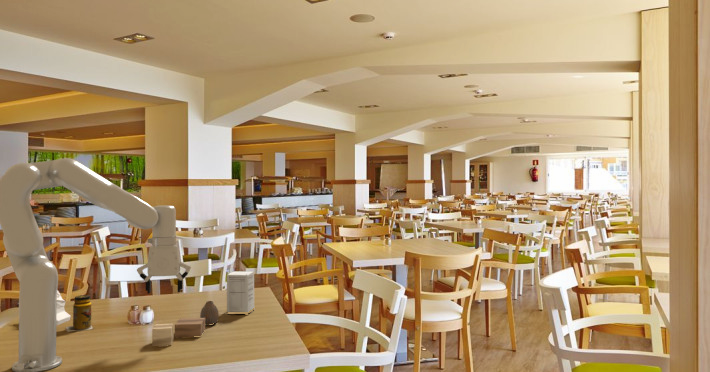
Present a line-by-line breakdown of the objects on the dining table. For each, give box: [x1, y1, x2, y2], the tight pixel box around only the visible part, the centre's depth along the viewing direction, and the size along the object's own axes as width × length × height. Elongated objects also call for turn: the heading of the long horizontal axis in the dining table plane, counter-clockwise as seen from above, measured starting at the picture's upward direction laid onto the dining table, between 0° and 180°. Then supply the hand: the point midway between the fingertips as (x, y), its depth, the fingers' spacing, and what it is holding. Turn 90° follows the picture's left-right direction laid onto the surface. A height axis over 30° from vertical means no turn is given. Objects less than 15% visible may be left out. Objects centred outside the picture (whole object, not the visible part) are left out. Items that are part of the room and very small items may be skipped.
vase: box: [199, 300, 220, 324], centre depth 202 cm, size 7×7×9 cm
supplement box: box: [226, 270, 255, 313], centre depth 221 cm, size 10×9×17 cm
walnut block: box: [174, 317, 206, 339], centre depth 188 cm, size 9×9×5 cm
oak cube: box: [151, 323, 175, 347], centre depth 177 cm, size 6×6×6 cm
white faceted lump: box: [56, 289, 72, 326], centre depth 204 cm, size 12×15×14 cm
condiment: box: [65, 294, 94, 333], centre depth 195 cm, size 7×8×12 cm
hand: (164, 292), depth 177 cm, fingers open, 9 cm apart
